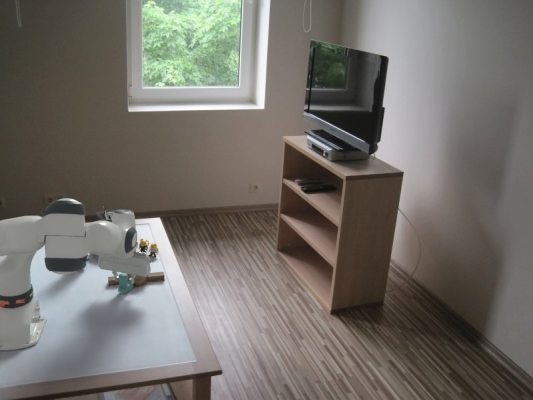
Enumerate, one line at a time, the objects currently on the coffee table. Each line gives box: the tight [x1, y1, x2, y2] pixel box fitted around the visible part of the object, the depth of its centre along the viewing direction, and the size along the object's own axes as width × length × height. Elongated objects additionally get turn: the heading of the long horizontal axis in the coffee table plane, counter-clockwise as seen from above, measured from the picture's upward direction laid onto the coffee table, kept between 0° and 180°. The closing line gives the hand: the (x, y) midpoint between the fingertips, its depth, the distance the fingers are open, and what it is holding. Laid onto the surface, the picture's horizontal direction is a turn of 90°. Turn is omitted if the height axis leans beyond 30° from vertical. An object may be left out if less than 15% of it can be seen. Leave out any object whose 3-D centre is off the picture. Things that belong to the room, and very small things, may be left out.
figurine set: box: [136, 237, 159, 259], centre depth 256 cm, size 3×16×7 cm, turn 63°
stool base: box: [107, 271, 165, 288], centre depth 234 cm, size 16×22×6 cm
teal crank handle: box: [117, 272, 134, 294], centre depth 224 cm, size 6×3×7 cm, turn 161°
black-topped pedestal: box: [95, 206, 117, 222], centre depth 270 cm, size 28×26×13 cm
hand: (124, 281), depth 222 cm, fingers open, 4 cm apart
